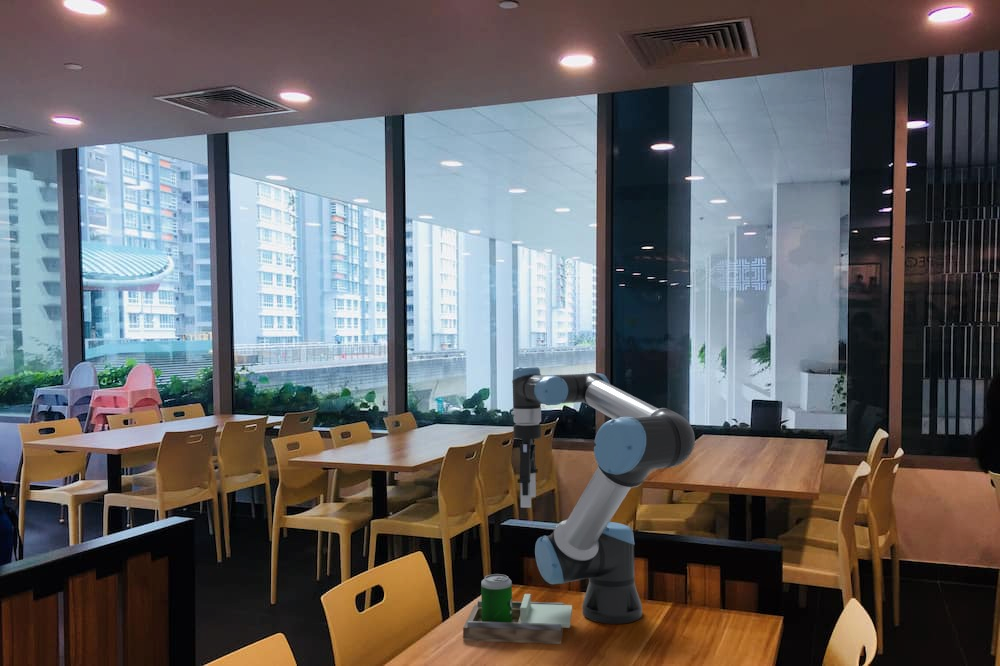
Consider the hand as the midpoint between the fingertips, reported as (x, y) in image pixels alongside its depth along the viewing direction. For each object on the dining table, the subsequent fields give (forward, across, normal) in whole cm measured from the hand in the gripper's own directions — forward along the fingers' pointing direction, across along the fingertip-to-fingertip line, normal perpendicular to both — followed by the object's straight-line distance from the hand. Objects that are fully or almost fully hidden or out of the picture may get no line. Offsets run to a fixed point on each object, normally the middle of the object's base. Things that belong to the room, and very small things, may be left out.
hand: (528, 502), depth 209 cm
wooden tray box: (+27, +21, -2) cm, 34 cm away
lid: (+23, +21, +6) cm, 32 cm away
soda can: (+26, +21, -6) cm, 34 cm away
